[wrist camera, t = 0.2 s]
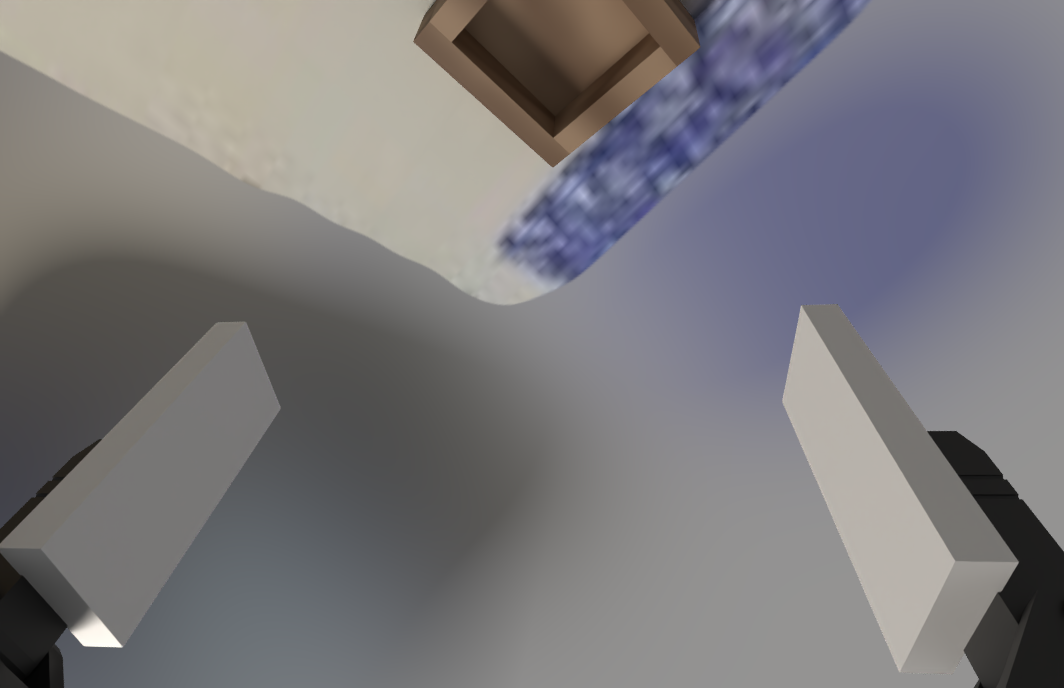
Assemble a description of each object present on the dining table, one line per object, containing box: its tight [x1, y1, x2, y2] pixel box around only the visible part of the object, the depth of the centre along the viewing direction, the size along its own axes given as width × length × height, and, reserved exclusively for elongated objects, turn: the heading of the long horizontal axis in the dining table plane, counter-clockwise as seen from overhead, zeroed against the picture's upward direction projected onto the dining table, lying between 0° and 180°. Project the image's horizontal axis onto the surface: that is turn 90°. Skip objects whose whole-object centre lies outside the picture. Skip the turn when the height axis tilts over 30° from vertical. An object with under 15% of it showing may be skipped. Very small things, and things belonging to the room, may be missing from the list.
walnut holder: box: [413, 0, 700, 167], centre depth 33 cm, size 11×11×3 cm
